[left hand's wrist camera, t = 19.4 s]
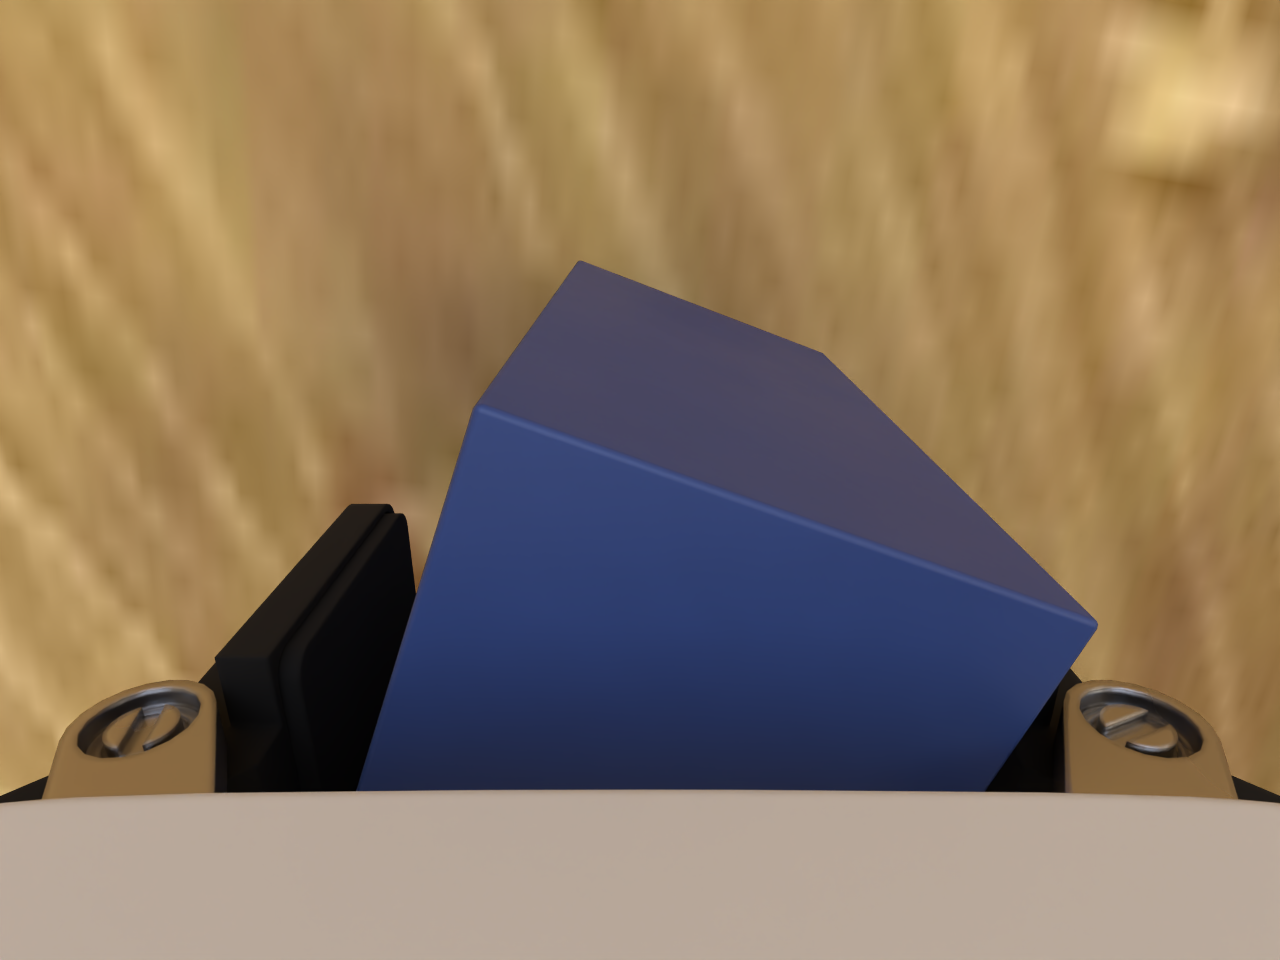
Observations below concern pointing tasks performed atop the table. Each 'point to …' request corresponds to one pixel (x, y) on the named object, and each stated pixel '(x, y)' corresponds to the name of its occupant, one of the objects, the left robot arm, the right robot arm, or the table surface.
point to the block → (708, 579)
